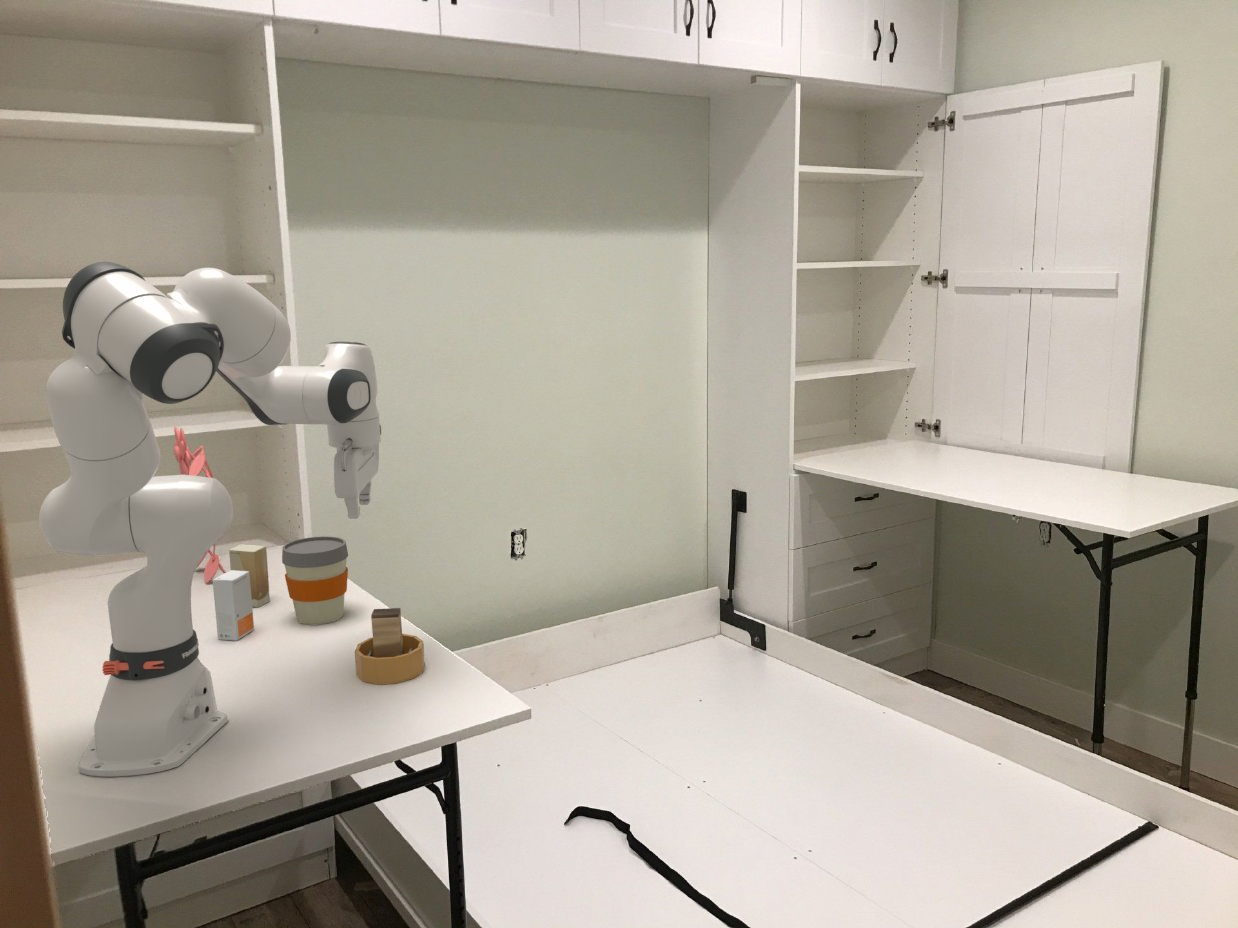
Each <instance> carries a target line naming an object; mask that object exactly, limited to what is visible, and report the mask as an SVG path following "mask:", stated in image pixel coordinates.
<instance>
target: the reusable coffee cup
mask: <svg viewBox="0 0 1238 928" xmlns="http://www.w3.org/2000/svg"><path fill="white" fill-rule="evenodd" d="M347 546H348V545H347V542H346V540H345V539H344V538H342V537H337V536H328V535H327V536H326V535H325V536H324V535H323V536H311V537H303V538H299V539H296V540H293V541H292V540H291V541H289V542H287V543H285V544H284V545H283V546H282V548H281V550H282V552H281V553H282V555H281V561H282V564H283V565H284V568H285V575H284V578H285V582H286V587H287V591H288V596H289V598H290V599H291V600H292V602H293V607H294V612H295V616H296V620H297V622H298V623H299V624H302V625H309V626H310V625H313V626H314V625H315V626H316V625H325V624H330V623H333V622H336V621H338V620H340V619H341V618H343V616H344V611H345V609H344V607H345V593H346V592H347V591H348V574H349V569H348V567H347V558H348V556H349V553H348V547H347Z"/></svg>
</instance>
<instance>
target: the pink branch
mask: <svg viewBox="0 0 1238 928" xmlns="http://www.w3.org/2000/svg"><path fill="white" fill-rule="evenodd" d="M173 431H174V432H173V433H174V436H175V437H174V438H175V441H174V444H173V445H174V447H173V455H174V457H175V460H176V461H177V463H178V466H179V471H180V475H192V476H200V474H201V472H204V473H205V476H204V477H209V478H215V476H214V475H213V473H212V471H211V469H210V465H209V463H208V461H207V458H206V454H205V450H204V449H205V447H204V446H203V445H200V446H199V448H197V449H196V450H195V451H194V452H193V453H192V452H191V450H190V448H189V446H188V445H187V438H186V434H185V431H184V429H183V428H181V427H180V429H178V427H177V426H174V430H173ZM204 466H205V467H204ZM212 547H213V550H212V551H211V550H210V549H211V547H210V548H209V549H208V551H207V552H206V553H205V554H204V556H203V557H202V558H201V560H200V562H199V563H198V565H197V567H196V569H197V568H198V567H200V565H201V563H202V562H203V561H204V559H205V558H206V556H207V554H209V555H210V557H209V559H208V560H207V562H206V564H205V567H204V572H203V573H204V581H205V584H209V583H210V582H211V581H212V580H213V578H214V577H215V575H216V574H217V572H218V571H219V569H220V570H221V572H222V574H224V573H227V572H226V570H225V569H224V567H223V566H222V565H221V563H220V557H219V555H218V554H216V552H215V551H216V543H215V544H214V545H213V546H212Z"/></svg>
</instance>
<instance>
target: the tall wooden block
mask: <svg viewBox="0 0 1238 928" xmlns="http://www.w3.org/2000/svg"><path fill="white" fill-rule="evenodd" d="M401 610H402V609H401V607H393V608H392V607H390V608H374V609H373V610H372V613H371V615H370V617H371V630H372V631H371V633H372V637H373V647H374V657H376V658H382V657H395V656H399V655H403V639H402V634H403V630H402V629H403V626H402V612H401Z"/></svg>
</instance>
